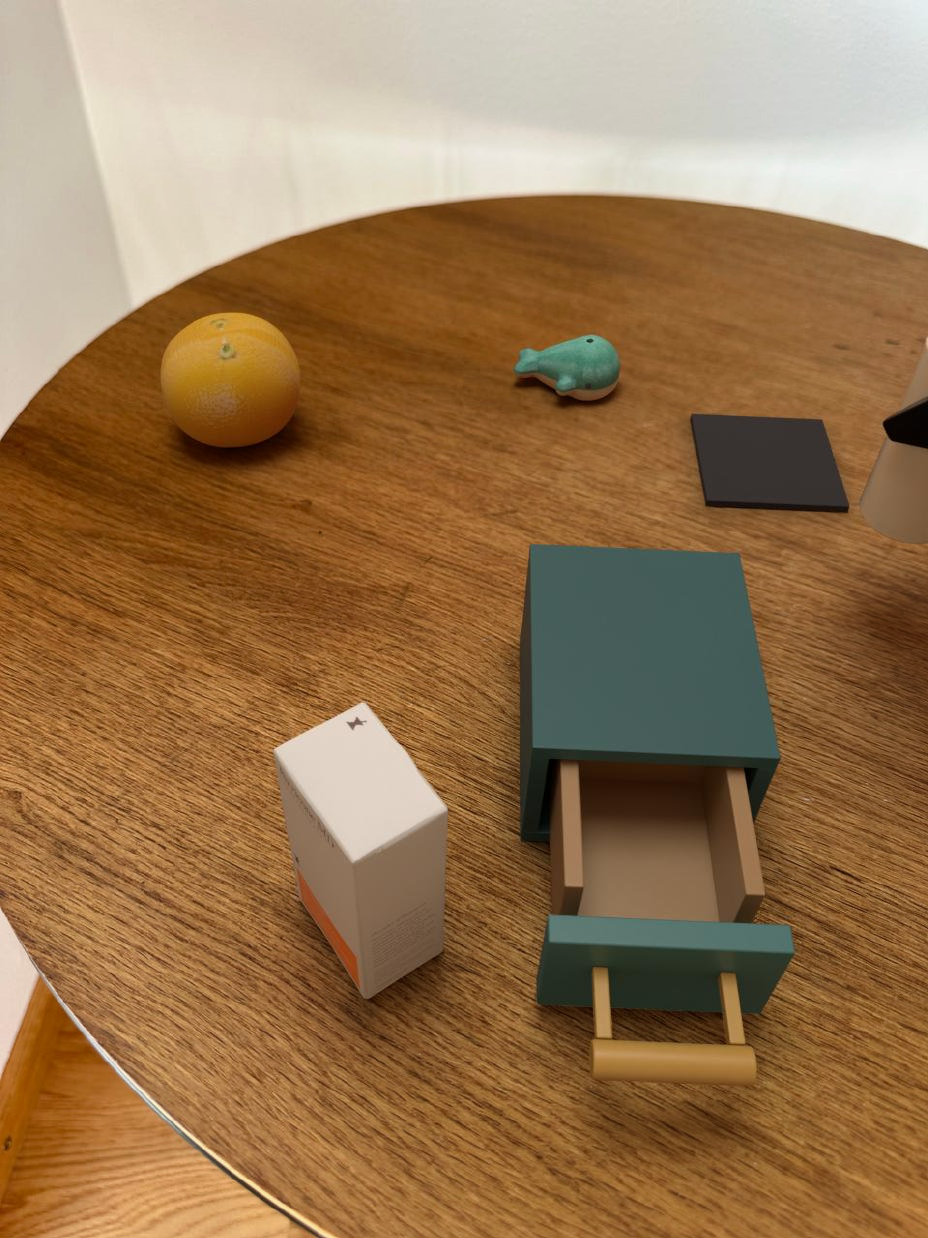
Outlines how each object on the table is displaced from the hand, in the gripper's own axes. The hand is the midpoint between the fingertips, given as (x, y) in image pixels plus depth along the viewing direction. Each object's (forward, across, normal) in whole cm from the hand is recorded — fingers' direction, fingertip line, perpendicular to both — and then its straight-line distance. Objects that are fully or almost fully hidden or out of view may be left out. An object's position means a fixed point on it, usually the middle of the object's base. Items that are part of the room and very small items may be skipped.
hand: (910, 408), depth 53 cm
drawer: (+6, +25, +12) cm, 28 cm away
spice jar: (+3, 0, +5) cm, 6 cm away
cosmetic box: (+13, +33, +6) cm, 36 cm away
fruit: (+36, +14, -16) cm, 42 cm away
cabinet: (+12, +17, +8) cm, 22 cm away
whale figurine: (+27, -6, -8) cm, 29 cm away
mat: (+16, -8, +3) cm, 18 cm away
